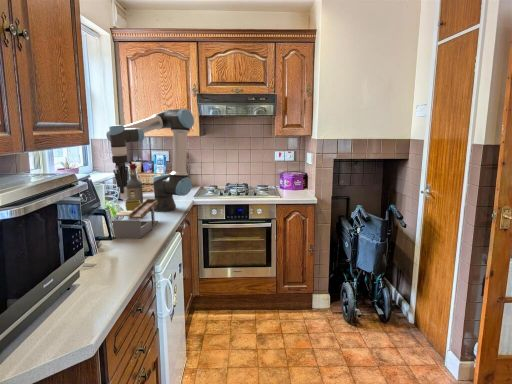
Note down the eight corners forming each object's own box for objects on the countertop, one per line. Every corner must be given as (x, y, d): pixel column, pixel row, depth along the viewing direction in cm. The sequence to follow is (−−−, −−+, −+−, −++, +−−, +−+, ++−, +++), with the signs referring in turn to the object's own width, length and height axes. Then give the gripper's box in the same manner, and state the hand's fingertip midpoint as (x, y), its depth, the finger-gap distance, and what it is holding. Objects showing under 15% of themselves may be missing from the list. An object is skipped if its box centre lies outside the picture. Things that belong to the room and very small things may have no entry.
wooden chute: (132, 206, 213) (131, 198, 212) (158, 206, 212) (157, 198, 211) (114, 221, 190) (112, 212, 189) (143, 222, 189) (142, 213, 188)
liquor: (130, 207, 247) (127, 163, 242) (144, 206, 248) (141, 163, 243) (126, 210, 238) (123, 164, 233) (141, 209, 239) (137, 164, 234)
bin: (124, 229, 192) (123, 213, 191) (152, 229, 191) (151, 213, 190) (111, 238, 178) (109, 220, 176) (141, 238, 176) (139, 220, 175)
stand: (137, 222, 206) (136, 206, 204) (158, 222, 205) (157, 206, 203) (132, 226, 198) (130, 209, 197) (153, 226, 197) (152, 209, 196)
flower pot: (126, 215, 225) (124, 201, 223) (140, 213, 228) (139, 199, 226) (126, 218, 217) (125, 203, 215) (141, 216, 220) (140, 202, 218)
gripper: (118, 154, 196) (122, 196, 201) (106, 156, 183) (111, 201, 188) (131, 153, 196) (135, 196, 200) (120, 156, 183) (125, 201, 188)
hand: (123, 198), depth 194 cm, fingers closed
